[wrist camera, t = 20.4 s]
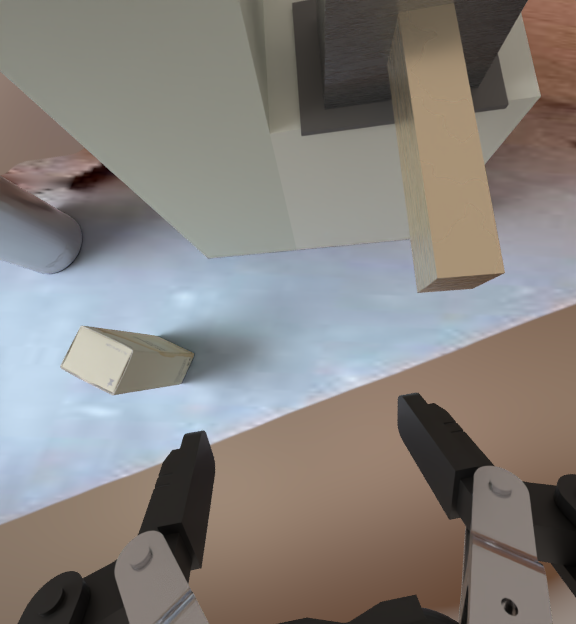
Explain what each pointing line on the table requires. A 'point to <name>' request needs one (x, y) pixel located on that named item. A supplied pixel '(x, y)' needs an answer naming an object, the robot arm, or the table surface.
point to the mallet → (426, 116)
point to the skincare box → (125, 360)
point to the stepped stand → (232, 116)
